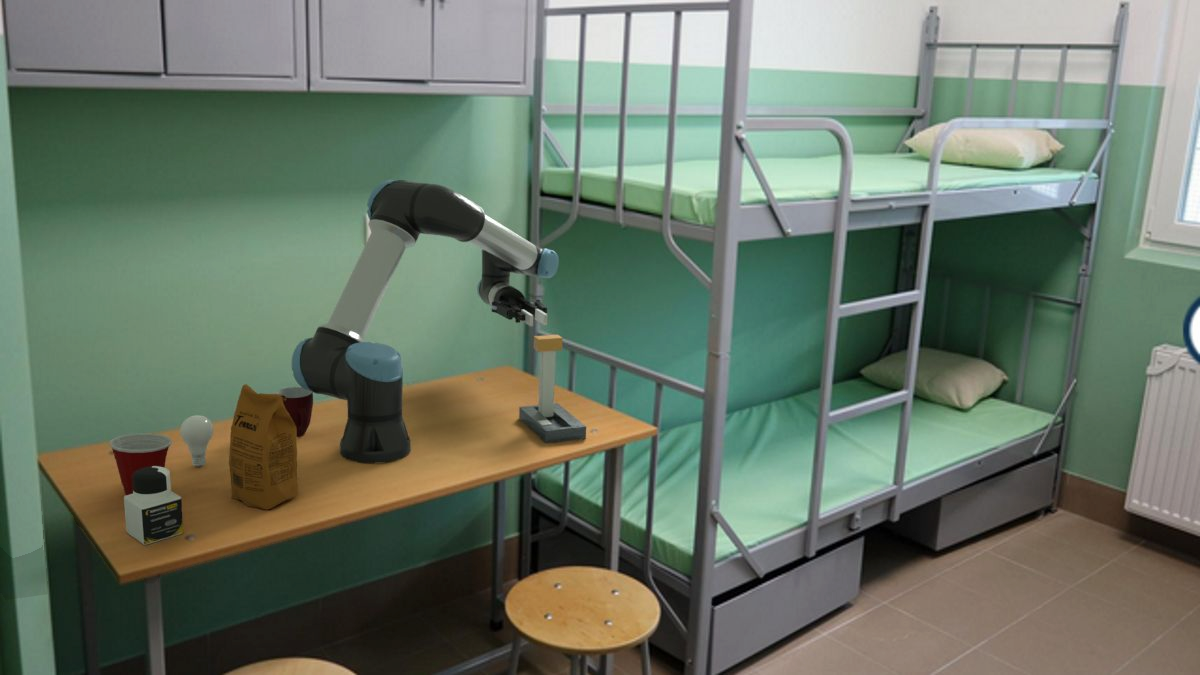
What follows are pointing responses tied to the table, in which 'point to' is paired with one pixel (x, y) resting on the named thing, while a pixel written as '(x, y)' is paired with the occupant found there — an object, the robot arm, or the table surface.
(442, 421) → the table surface
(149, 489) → the medicine bottle
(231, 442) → the coffee package
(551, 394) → the lever
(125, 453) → the plastic cup
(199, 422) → the lightbulb
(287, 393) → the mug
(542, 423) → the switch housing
